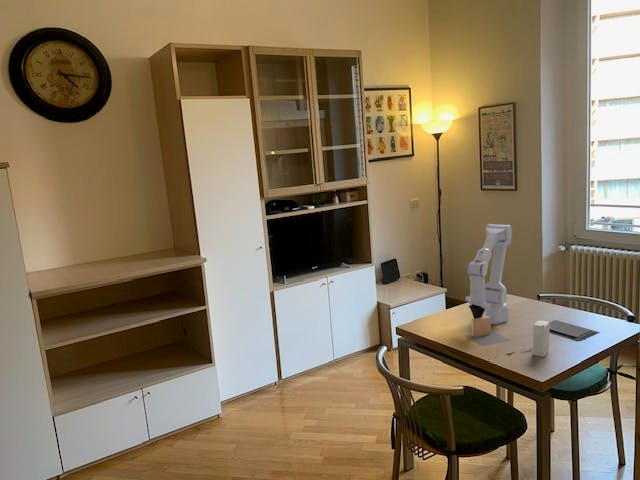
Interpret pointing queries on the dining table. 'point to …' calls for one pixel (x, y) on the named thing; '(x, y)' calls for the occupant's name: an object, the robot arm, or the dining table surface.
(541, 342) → the skincare box
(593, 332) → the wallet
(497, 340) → the mat
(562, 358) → the dining table surface
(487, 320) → the tile
